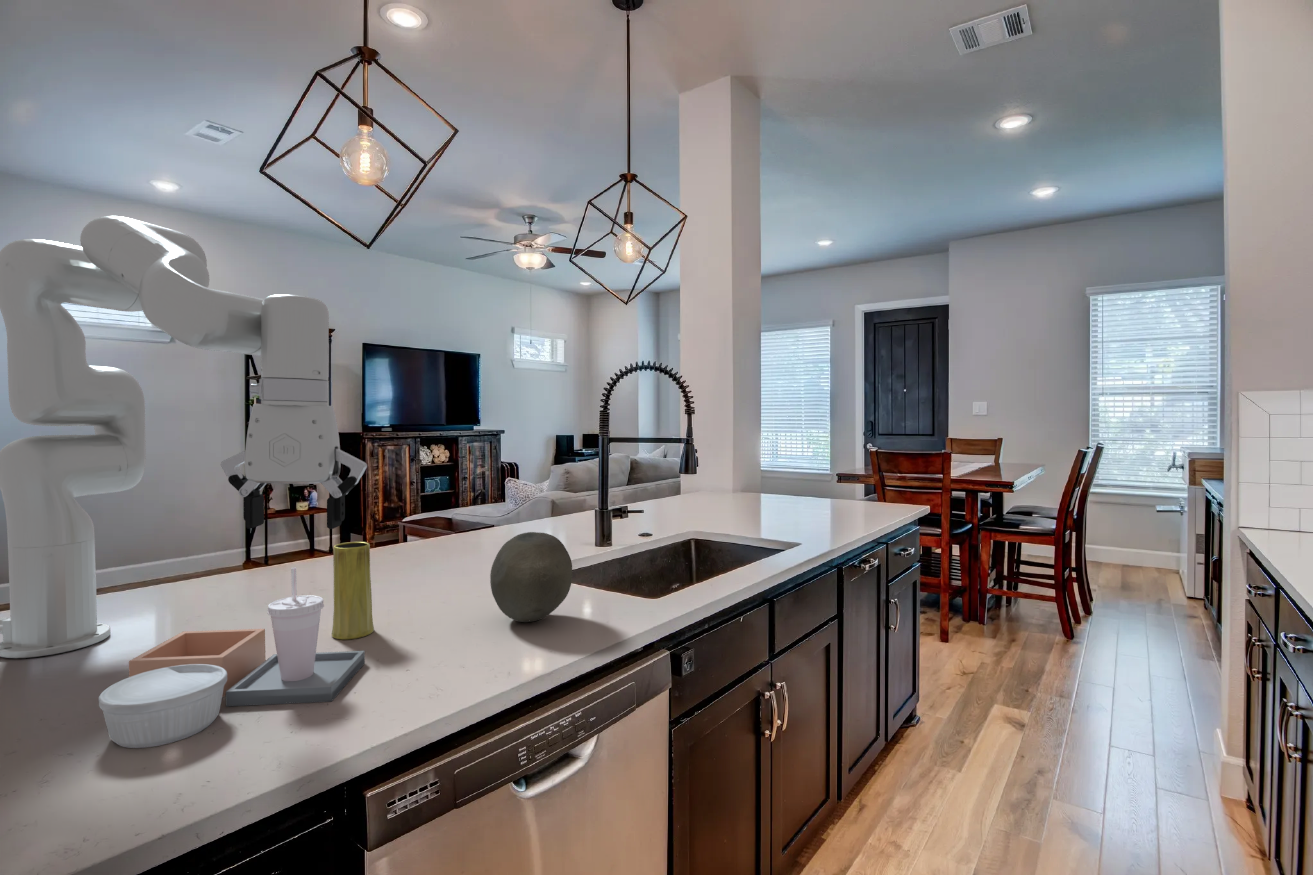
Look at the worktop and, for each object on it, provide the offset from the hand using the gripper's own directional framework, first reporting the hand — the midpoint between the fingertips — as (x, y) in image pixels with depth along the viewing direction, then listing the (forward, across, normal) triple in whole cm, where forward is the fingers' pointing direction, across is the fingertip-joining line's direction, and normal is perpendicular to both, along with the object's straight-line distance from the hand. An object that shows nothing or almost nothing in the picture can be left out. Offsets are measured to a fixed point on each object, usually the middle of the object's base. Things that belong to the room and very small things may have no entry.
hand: (295, 526), depth 82 cm
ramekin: (+21, -9, -11) cm, 25 cm away
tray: (+20, +1, 0) cm, 20 cm away
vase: (+21, +1, +19) cm, 28 cm away
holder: (+21, -12, +2) cm, 24 cm away
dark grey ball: (+20, +29, +22) cm, 41 cm away
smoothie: (+20, 0, 0) cm, 20 cm away
